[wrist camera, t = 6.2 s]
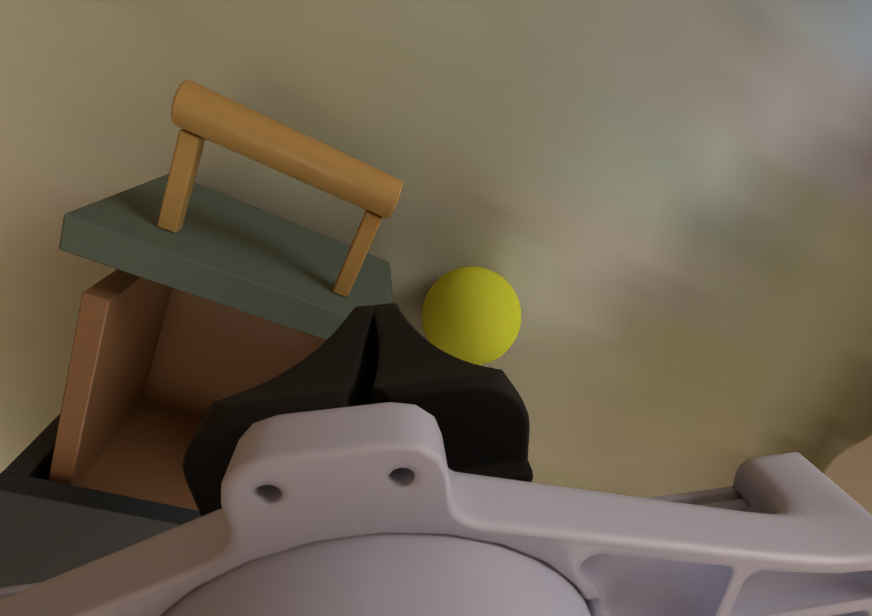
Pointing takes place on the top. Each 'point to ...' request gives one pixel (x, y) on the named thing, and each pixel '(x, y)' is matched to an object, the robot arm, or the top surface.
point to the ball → (472, 314)
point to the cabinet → (67, 519)
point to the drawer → (203, 297)
